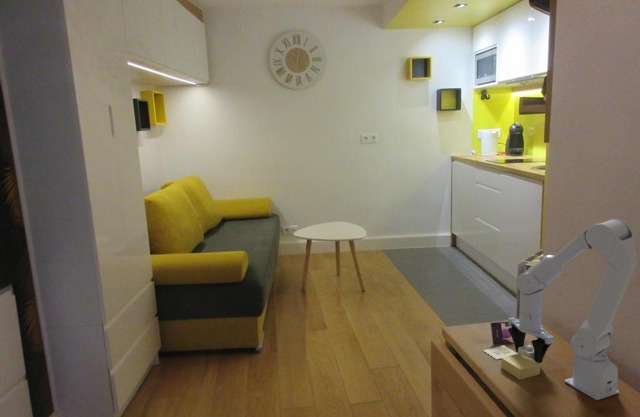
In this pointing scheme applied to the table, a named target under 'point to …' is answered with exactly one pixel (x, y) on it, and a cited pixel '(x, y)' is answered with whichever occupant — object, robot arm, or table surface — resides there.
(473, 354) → the table surface
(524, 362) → the base brick
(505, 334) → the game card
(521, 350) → the top brick
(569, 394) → the table surface
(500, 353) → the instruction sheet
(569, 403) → the table surface
